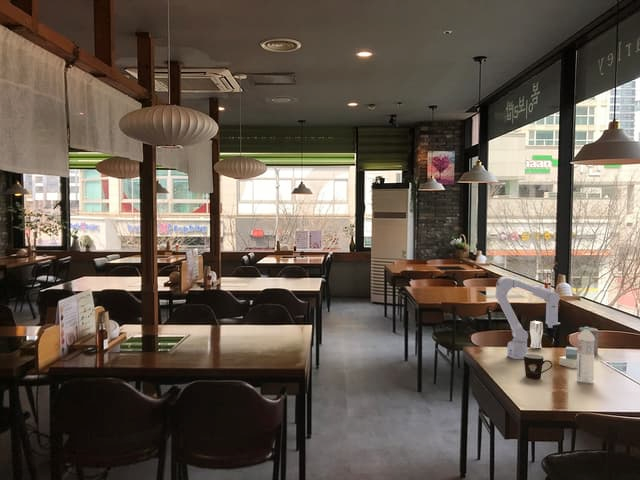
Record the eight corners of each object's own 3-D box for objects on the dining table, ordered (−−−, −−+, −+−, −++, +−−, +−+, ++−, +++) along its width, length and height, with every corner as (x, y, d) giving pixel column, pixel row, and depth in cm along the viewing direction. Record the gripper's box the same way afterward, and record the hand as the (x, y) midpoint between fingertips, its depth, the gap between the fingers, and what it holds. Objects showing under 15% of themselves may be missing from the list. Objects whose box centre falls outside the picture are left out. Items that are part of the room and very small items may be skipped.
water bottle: (592, 385, 230) (594, 329, 229) (575, 382, 233) (577, 327, 233) (594, 381, 235) (595, 326, 235) (577, 379, 239) (578, 325, 238)
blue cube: (576, 359, 260) (576, 349, 260) (565, 358, 263) (565, 348, 262) (577, 357, 265) (577, 347, 264) (566, 356, 267) (566, 346, 267)
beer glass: (541, 346, 304) (542, 321, 304) (542, 349, 298) (543, 323, 297) (529, 345, 306) (529, 320, 306) (529, 348, 300) (530, 322, 299)
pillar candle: (578, 350, 296) (578, 324, 296) (597, 352, 292) (598, 325, 291) (578, 354, 288) (578, 327, 287) (598, 356, 283) (598, 328, 283)
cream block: (573, 368, 258) (573, 360, 258) (559, 365, 265) (559, 357, 265) (583, 367, 261) (583, 359, 261) (569, 363, 268) (569, 355, 268)
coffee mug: (519, 376, 241) (519, 355, 241) (529, 373, 247) (530, 353, 246) (543, 383, 232) (543, 360, 232) (553, 379, 237) (553, 358, 237)
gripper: (558, 316, 268) (558, 342, 268) (561, 312, 280) (561, 337, 280) (543, 315, 271) (543, 340, 272) (547, 311, 284) (546, 336, 284)
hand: (551, 339), depth 276 cm, fingers open, 7 cm apart
